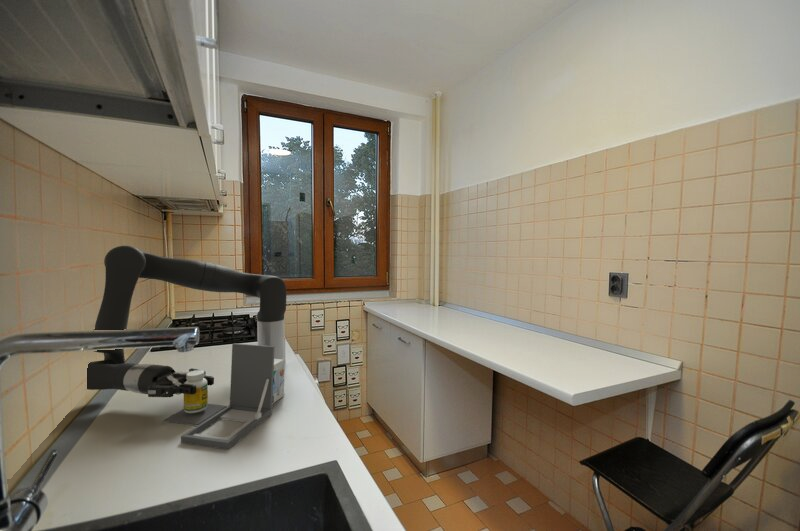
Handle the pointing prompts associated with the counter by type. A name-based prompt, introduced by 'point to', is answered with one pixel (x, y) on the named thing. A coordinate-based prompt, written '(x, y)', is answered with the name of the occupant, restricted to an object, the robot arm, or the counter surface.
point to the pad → (194, 415)
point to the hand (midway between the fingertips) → (204, 385)
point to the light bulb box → (278, 380)
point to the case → (242, 396)
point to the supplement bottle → (200, 398)
